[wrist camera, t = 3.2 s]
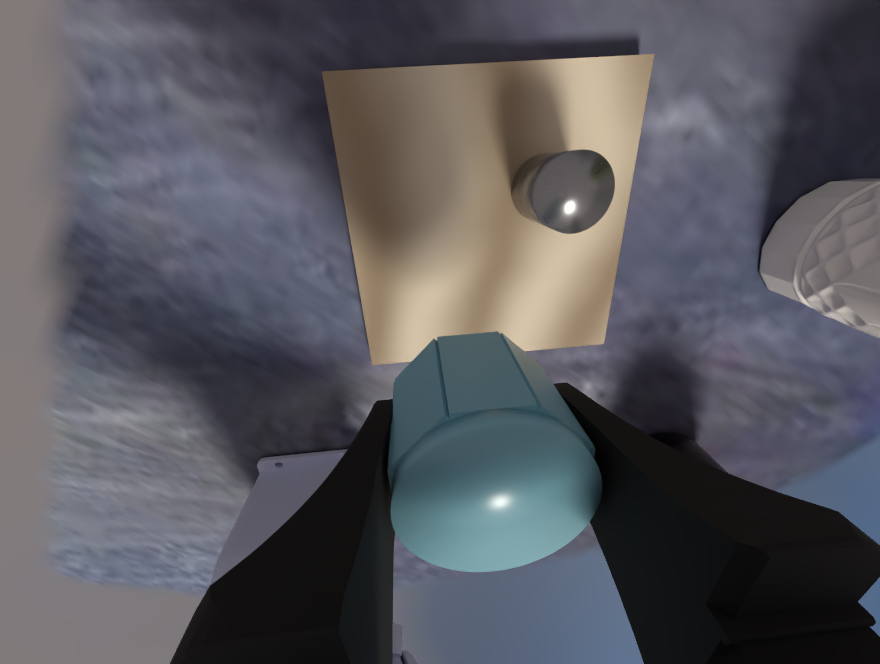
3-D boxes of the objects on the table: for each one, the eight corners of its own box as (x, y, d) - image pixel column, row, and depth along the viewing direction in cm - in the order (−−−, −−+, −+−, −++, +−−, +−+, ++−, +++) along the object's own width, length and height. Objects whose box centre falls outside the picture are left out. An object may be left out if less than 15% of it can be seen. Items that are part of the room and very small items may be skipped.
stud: (510, 222, 17) (535, 236, 14) (512, 155, 16) (540, 152, 12) (568, 218, 17) (608, 231, 14) (575, 151, 16) (621, 146, 12)
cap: (405, 458, 14) (402, 581, 10) (388, 340, 11) (376, 438, 7) (535, 444, 14) (587, 559, 10) (545, 327, 12) (619, 414, 8)
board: (373, 356, 21) (372, 364, 20) (327, 77, 15) (321, 71, 14) (595, 336, 21) (603, 344, 21) (639, 60, 15) (654, 54, 14)
